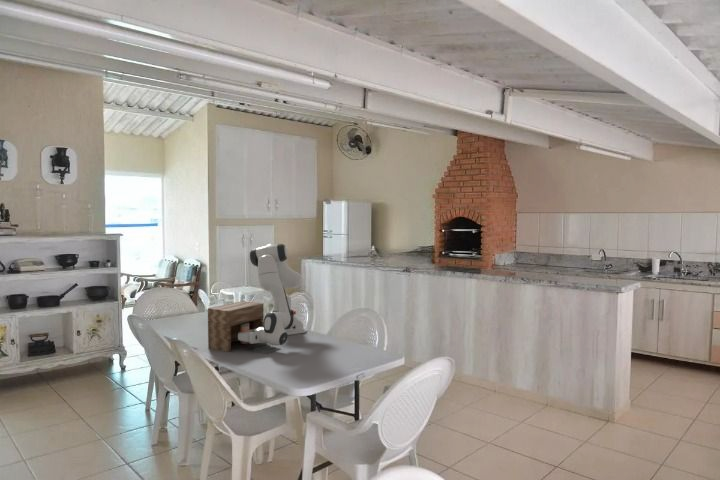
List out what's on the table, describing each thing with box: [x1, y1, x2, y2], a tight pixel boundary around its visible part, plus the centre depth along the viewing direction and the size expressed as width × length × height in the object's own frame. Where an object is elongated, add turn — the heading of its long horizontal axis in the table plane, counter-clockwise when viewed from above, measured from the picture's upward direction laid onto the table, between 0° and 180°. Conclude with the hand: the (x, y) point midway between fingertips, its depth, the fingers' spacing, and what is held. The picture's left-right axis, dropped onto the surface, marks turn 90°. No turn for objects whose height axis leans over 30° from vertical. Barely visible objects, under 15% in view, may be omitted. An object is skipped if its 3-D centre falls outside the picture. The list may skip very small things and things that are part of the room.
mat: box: [249, 345, 282, 355], centre depth 286 cm, size 12×12×1 cm
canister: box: [239, 323, 250, 345], centre depth 293 cm, size 5×5×11 cm
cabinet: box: [207, 300, 265, 353], centre depth 296 cm, size 16×28×22 cm, turn 149°
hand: (243, 331), depth 293 cm, fingers closed on canister, 5 cm apart
